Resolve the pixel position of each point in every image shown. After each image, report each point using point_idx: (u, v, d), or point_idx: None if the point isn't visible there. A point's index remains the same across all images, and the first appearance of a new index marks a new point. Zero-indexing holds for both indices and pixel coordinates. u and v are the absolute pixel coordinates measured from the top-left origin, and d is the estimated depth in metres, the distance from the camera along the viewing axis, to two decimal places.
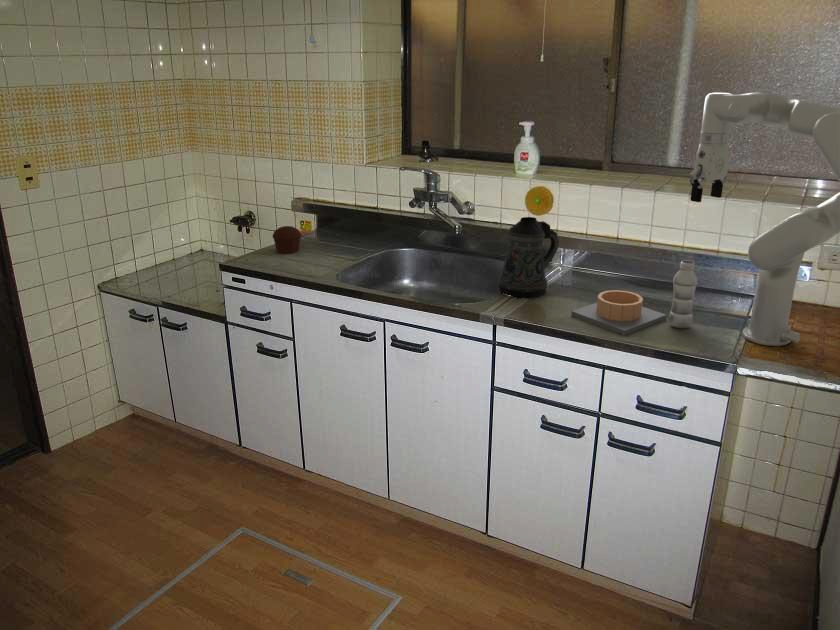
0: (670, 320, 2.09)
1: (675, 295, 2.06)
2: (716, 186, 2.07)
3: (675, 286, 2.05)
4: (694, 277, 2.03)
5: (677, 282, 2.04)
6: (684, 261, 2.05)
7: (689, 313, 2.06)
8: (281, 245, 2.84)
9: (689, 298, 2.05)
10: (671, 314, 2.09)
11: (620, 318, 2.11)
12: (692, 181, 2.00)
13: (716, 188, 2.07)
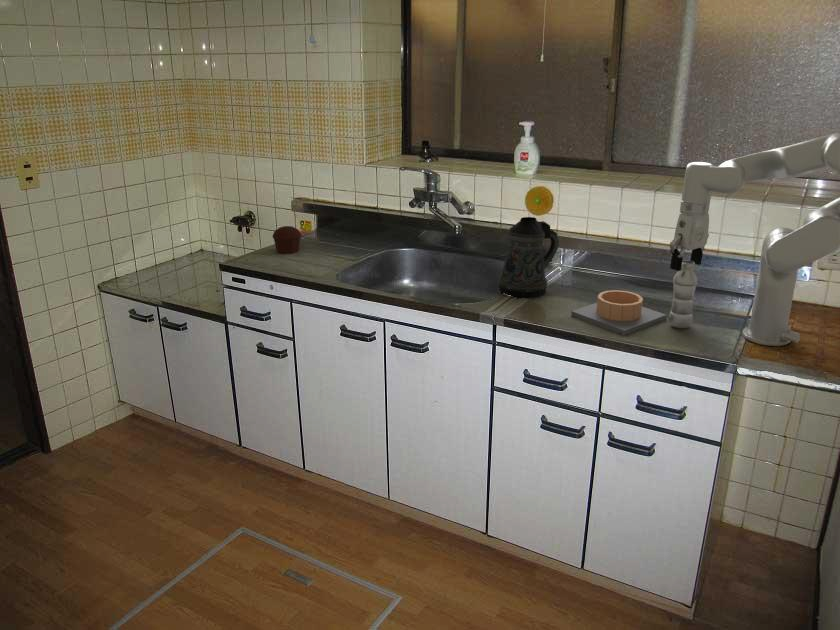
0: (670, 320, 2.09)
1: (675, 295, 2.06)
2: (696, 253, 2.05)
3: (675, 286, 2.05)
4: (694, 277, 2.03)
5: (677, 282, 2.04)
6: (684, 261, 2.05)
7: (689, 313, 2.06)
8: (281, 245, 2.84)
9: (689, 298, 2.05)
10: (671, 314, 2.09)
11: (620, 318, 2.11)
12: (672, 250, 1.97)
13: (696, 255, 2.05)
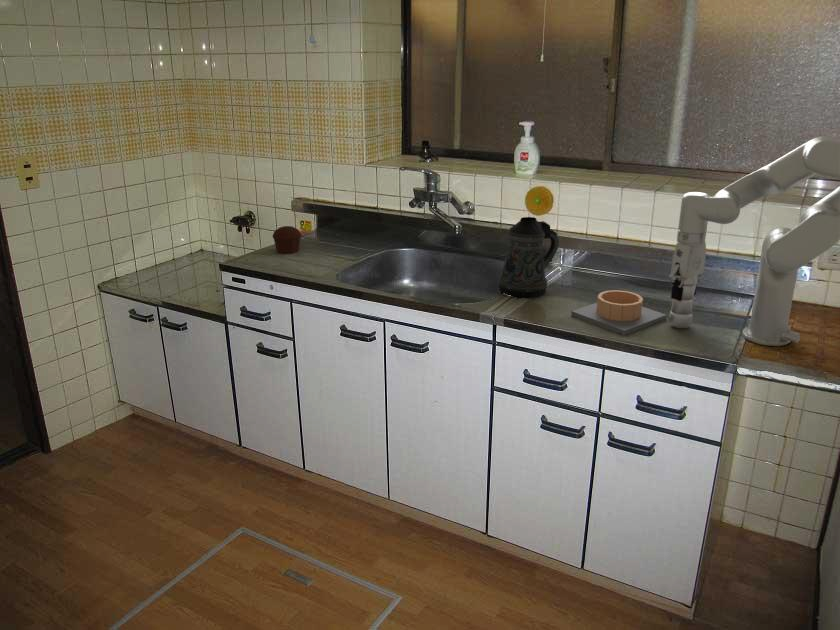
0: (670, 320, 2.09)
1: None
2: None
3: None
4: (694, 277, 2.03)
5: None
6: None
7: (689, 313, 2.06)
8: (281, 245, 2.84)
9: (689, 298, 2.05)
10: (671, 314, 2.09)
11: (620, 318, 2.11)
12: (673, 282, 2.01)
13: None
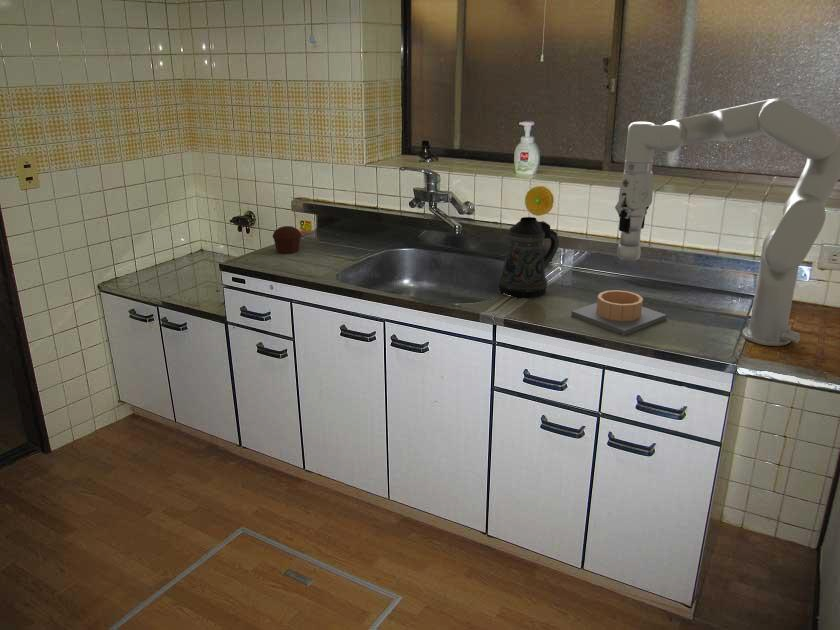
0: (618, 253, 2.09)
1: None
2: None
3: None
4: (641, 208, 2.03)
5: None
6: None
7: (637, 245, 2.07)
8: (281, 245, 2.84)
9: (636, 230, 2.05)
10: (619, 247, 2.09)
11: (620, 318, 2.11)
12: (619, 212, 2.02)
13: None
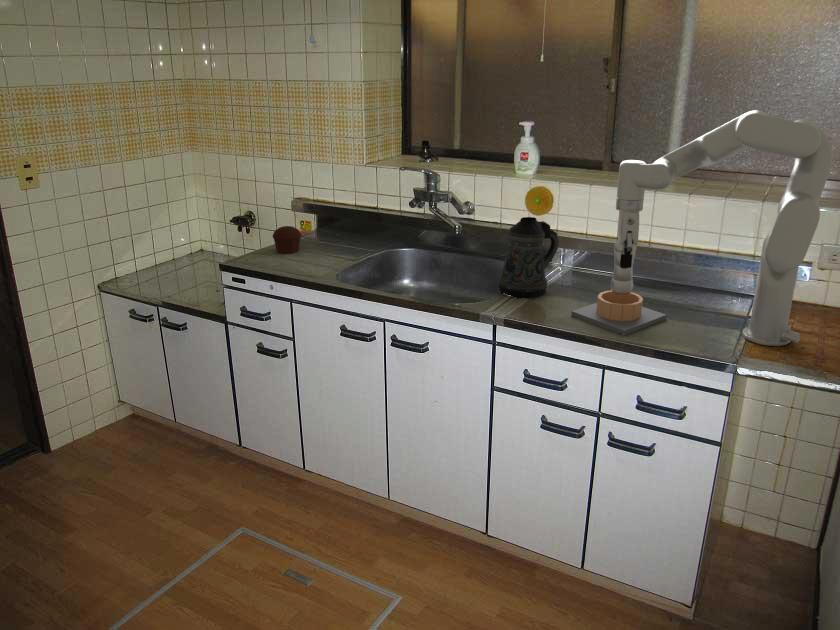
0: (618, 289, 2.12)
1: None
2: None
3: None
4: None
5: None
6: None
7: (632, 277, 2.13)
8: (281, 245, 2.84)
9: (632, 263, 2.10)
10: (618, 283, 2.11)
11: (620, 318, 2.11)
12: (628, 250, 2.04)
13: None
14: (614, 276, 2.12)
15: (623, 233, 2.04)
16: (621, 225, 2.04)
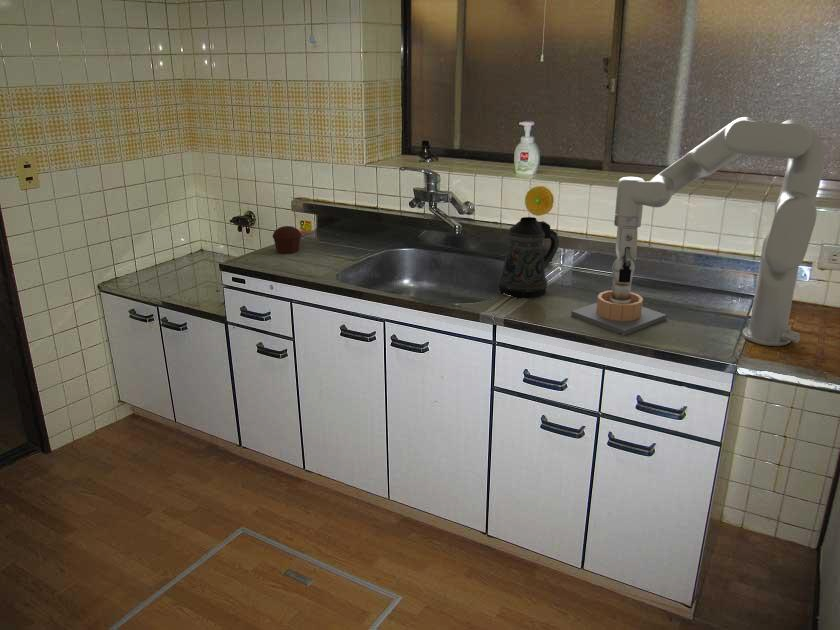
0: None
1: (619, 283, 2.12)
2: None
3: None
4: None
5: None
6: None
7: (630, 297, 2.15)
8: (281, 245, 2.84)
9: None
10: (616, 302, 2.14)
11: (620, 318, 2.11)
12: (627, 265, 2.04)
13: None
14: (612, 295, 2.15)
15: (621, 249, 2.05)
16: (619, 241, 2.06)
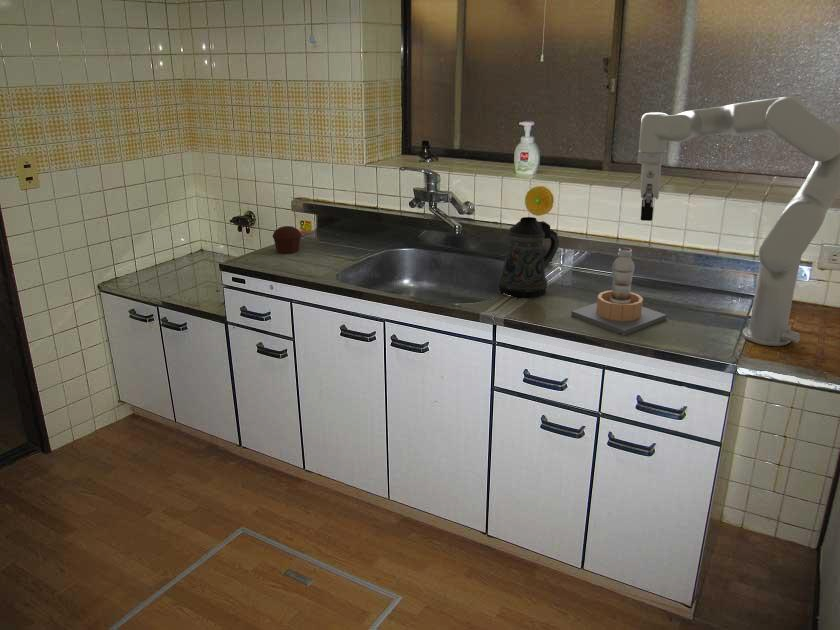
0: None
1: (619, 283, 2.12)
2: None
3: (620, 274, 2.11)
4: None
5: (622, 270, 2.10)
6: (619, 249, 2.11)
7: (630, 297, 2.15)
8: (281, 245, 2.84)
9: None
10: (616, 302, 2.14)
11: (620, 318, 2.11)
12: (648, 201, 2.00)
13: None
14: (612, 295, 2.15)
15: (643, 186, 2.02)
16: (641, 178, 2.03)
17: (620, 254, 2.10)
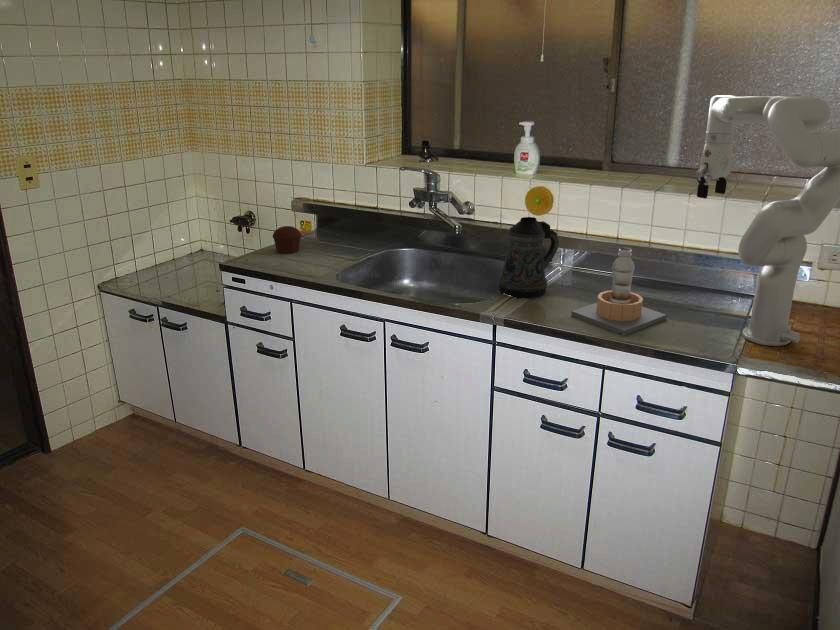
0: None
1: (619, 283, 2.12)
2: (720, 183, 2.20)
3: (620, 274, 2.11)
4: None
5: (622, 270, 2.10)
6: (619, 249, 2.11)
7: (630, 297, 2.15)
8: (281, 245, 2.84)
9: None
10: (616, 302, 2.14)
11: (620, 318, 2.11)
12: (699, 178, 2.12)
13: (720, 185, 2.20)
14: (612, 295, 2.15)
15: (701, 164, 2.14)
16: None
17: (620, 254, 2.10)
